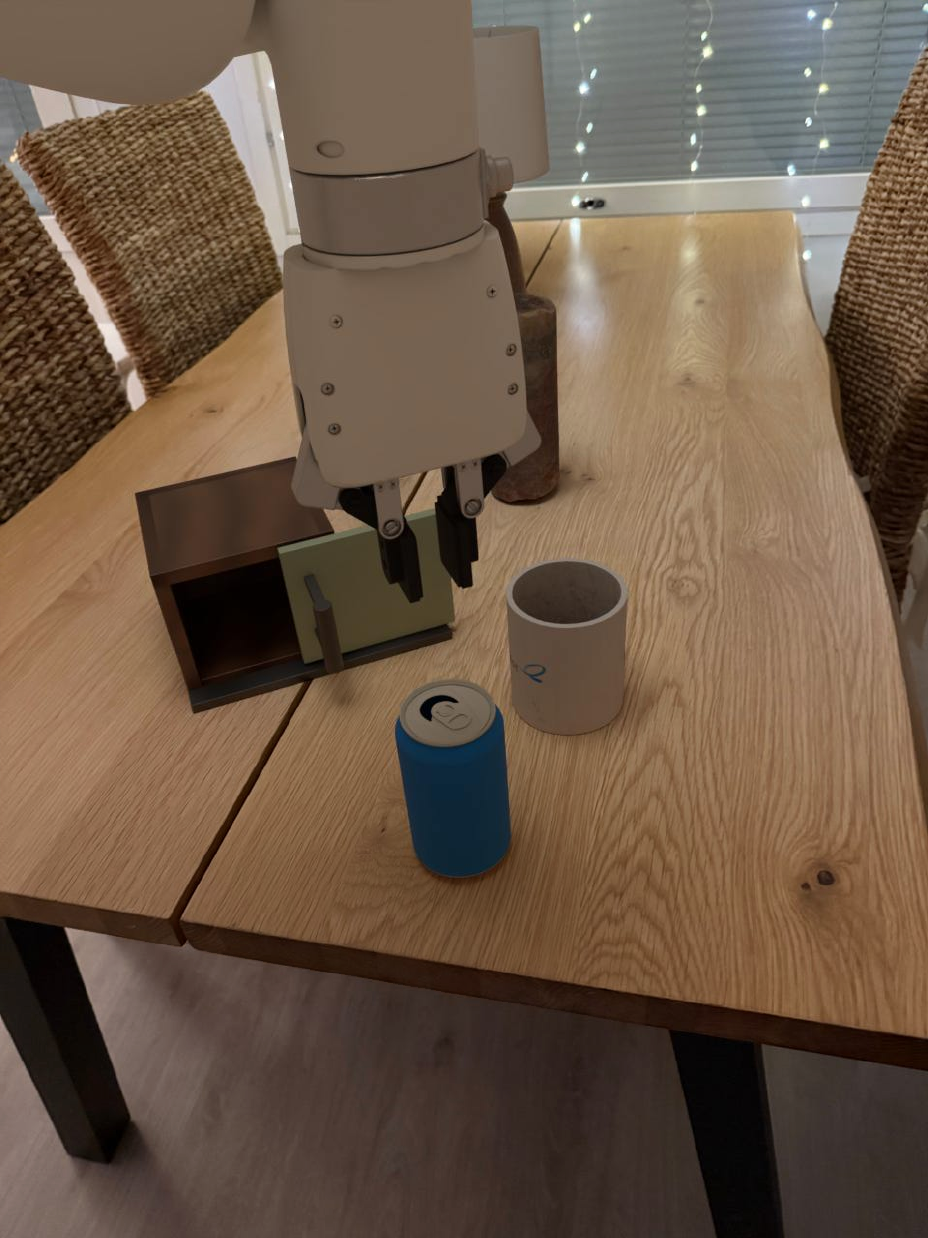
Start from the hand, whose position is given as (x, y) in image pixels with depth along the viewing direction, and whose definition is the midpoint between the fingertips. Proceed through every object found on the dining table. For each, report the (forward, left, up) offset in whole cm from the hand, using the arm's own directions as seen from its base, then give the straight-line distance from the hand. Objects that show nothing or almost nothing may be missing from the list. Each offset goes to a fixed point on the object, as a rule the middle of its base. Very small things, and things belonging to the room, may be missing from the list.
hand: (432, 579), depth 48 cm
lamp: (+42, +98, -21) cm, 109 cm away
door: (+1, +20, -20) cm, 28 cm away
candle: (+23, +42, -21) cm, 52 cm away
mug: (+13, +12, -21) cm, 28 cm away
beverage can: (0, 0, -21) cm, 21 cm away
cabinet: (-4, +29, -21) cm, 36 cm away
